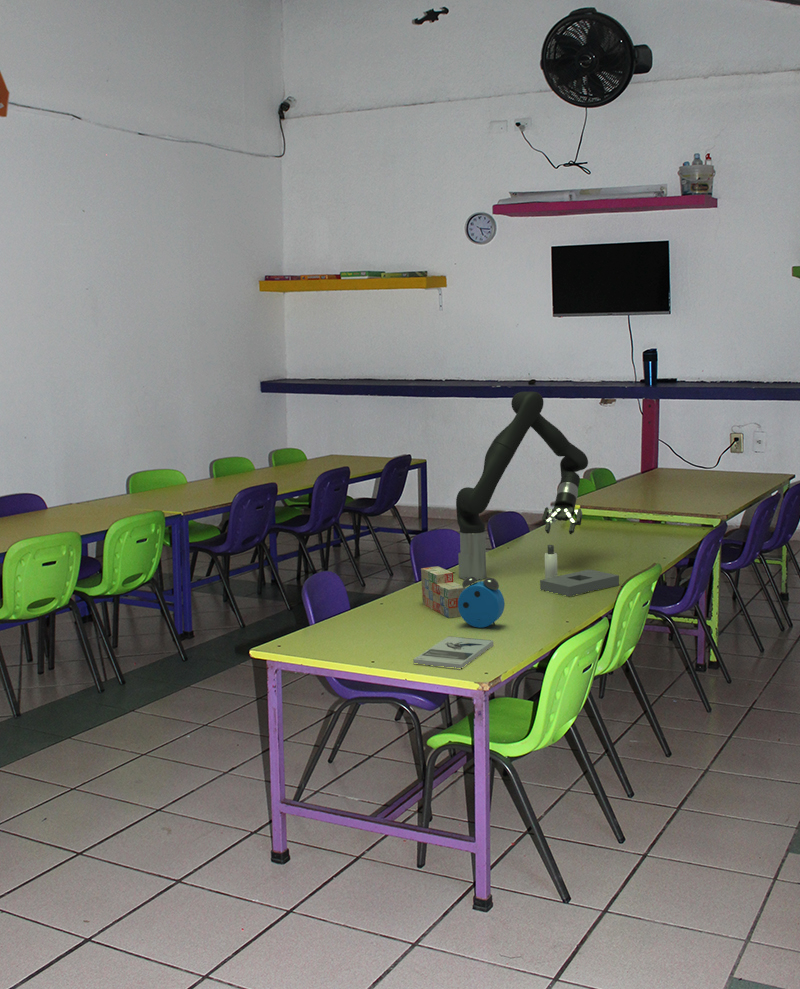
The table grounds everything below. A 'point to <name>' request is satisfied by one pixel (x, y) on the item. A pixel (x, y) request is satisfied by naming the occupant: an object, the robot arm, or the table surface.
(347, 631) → the table surface
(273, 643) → the table surface
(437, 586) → the stack of blocks
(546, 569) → the plug
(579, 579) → the socket plate
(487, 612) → the alarm clock
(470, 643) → the book
